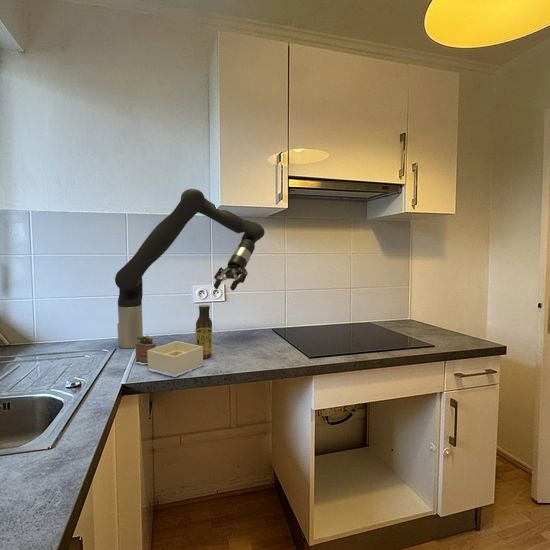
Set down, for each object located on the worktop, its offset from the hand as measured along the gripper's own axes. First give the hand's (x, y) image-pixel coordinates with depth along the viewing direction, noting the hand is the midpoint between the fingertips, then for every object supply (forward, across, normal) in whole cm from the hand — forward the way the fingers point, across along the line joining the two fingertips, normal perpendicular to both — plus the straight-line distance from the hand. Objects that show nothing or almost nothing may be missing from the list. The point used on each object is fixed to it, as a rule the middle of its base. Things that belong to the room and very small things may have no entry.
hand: (223, 288), depth 137 cm
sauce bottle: (+27, +1, +8) cm, 28 cm away
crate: (+37, +1, -2) cm, 37 cm away
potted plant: (+38, -12, -3) cm, 40 cm away
